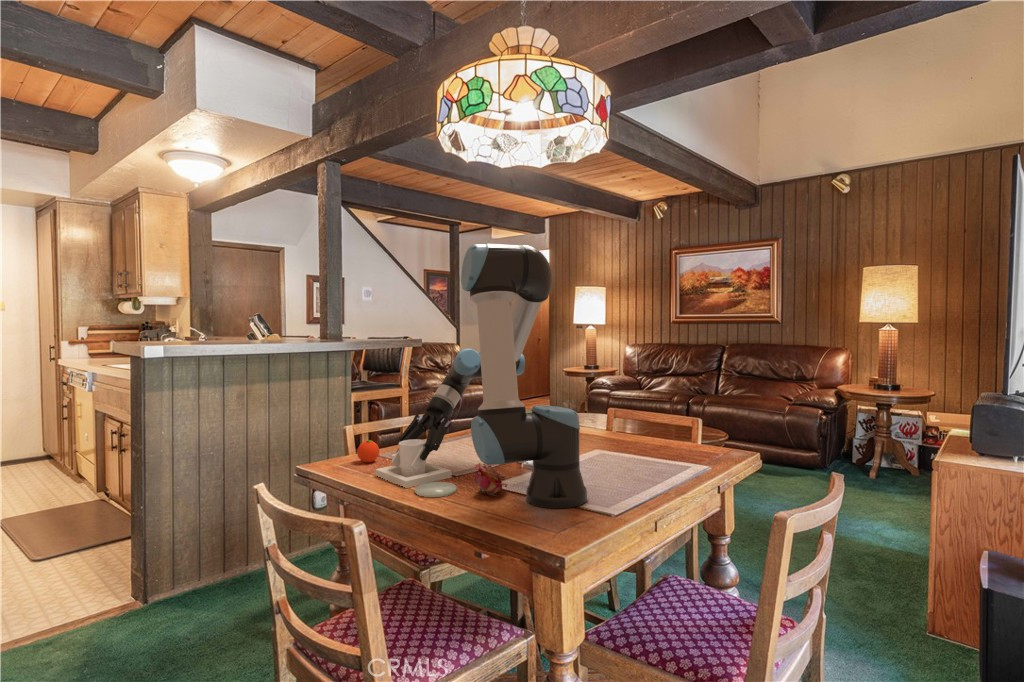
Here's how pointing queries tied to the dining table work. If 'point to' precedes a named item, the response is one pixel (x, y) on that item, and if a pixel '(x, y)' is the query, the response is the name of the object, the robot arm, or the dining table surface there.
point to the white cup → (410, 456)
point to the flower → (488, 479)
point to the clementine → (368, 451)
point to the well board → (393, 475)
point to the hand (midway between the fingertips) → (404, 466)
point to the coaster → (435, 489)
